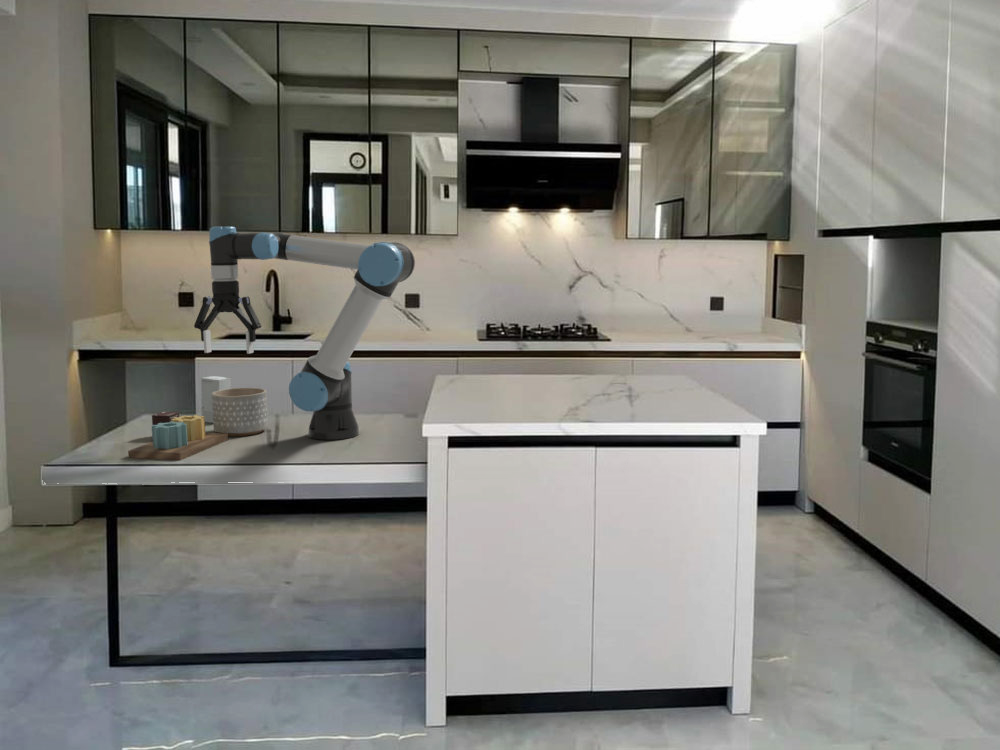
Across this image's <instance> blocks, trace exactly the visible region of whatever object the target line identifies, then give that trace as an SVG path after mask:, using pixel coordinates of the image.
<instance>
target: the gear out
mask: <svg viewBox="0 0 1000 750" xmlns="http://www.w3.org/2000/svg"><path fill="white" fill-rule="evenodd" d="M171 421H172V422H184V424H186V426H187V441H195V440H197V439H204V437H206V435H205V433H206V422H205V418H204V416H202V415H200V416H199V414H194V415H181V416H179V417H174V418H173V419H172V420H171Z"/></svg>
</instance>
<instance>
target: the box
mask: <svg viewBox="0 0 1000 750" xmlns="http://www.w3.org/2000/svg"><path fill="white" fill-rule="evenodd" d="M174 417H180V412H179V411H175V412H174V411H162V412H157V413H155V414H152V415H151V422H152V425H158V423H169V422H172V421H171V420H172V419H173V418H174ZM152 425H151V426H152Z"/></svg>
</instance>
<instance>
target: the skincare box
mask: <svg viewBox="0 0 1000 750" xmlns="http://www.w3.org/2000/svg"><path fill="white" fill-rule="evenodd" d="M200 380H201V381H200V382H201V383H200V384H201V416H204V418H205V423H212V424H213V407H212V393H213V392H215V391H219V390H224V389H232V378H230V377H226V376H217V375H215V376H214V375H210V376H206V377H205V376H203V377H201V378H200Z"/></svg>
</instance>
